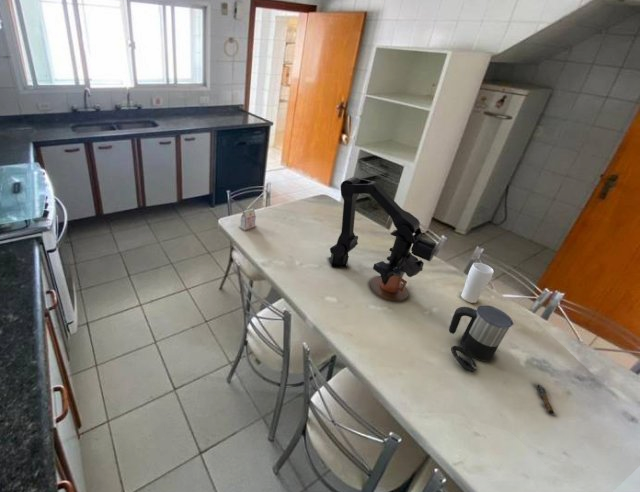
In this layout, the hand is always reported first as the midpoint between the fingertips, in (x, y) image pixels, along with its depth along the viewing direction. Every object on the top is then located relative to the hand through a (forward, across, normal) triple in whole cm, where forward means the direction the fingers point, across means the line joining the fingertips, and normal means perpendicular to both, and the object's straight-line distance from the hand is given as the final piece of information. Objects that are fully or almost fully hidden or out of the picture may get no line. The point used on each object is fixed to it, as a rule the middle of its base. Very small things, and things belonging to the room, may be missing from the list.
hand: (390, 281), depth 128 cm
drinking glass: (+4, +25, -18) cm, 31 cm away
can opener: (+4, +3, -51) cm, 51 cm away
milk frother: (+4, -2, -33) cm, 33 cm away
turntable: (+4, 0, 0) cm, 4 cm away
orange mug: (+3, 0, -1) cm, 3 cm away
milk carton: (+4, -28, +64) cm, 71 cm away
